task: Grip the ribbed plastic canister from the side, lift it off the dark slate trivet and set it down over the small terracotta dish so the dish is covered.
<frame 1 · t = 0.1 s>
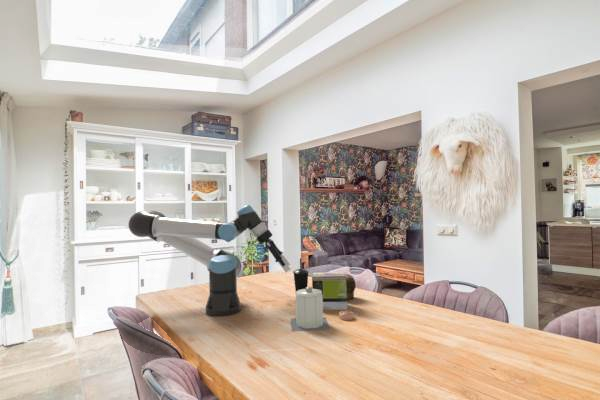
hand: (288, 268, 161), 15 cm above the table, tool tilted 35°, fingers open, 13 cm apart
ribbed plastic canister: (309, 323, 125), resting on trivet
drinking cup: (301, 300, 160), on the table
trivet: (309, 324, 125), on the table
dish: (346, 318, 131), on the table
shell: (344, 299, 161), on the table
tea box: (330, 307, 148), on the table
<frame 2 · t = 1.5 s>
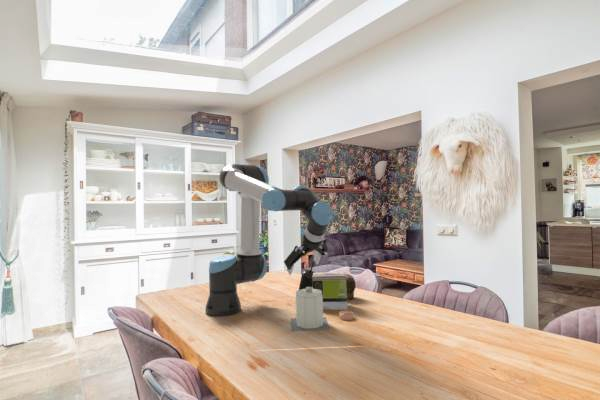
hand: (302, 266, 142), 19 cm above the table, tool tilted 45°, fingers open, 13 cm apart
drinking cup: (301, 298, 160), point 1 cm above the table
everything else where it was.
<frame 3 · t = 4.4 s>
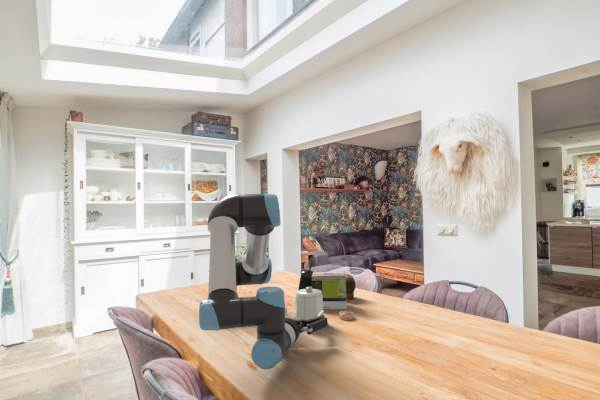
hand: (304, 312, 118), 7 cm above the table, tool horizontal, fingers open, 13 cm apart
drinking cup: (301, 298, 160), point 1 cm above the table, touching tea box
tea box: (329, 307, 148), on the table, touching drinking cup
everything else where it was.
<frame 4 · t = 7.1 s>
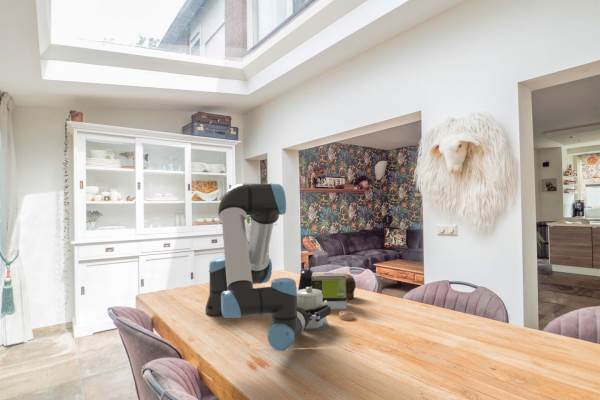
hand: (312, 303, 129), 7 cm above the table, tool horizontal, fingers closed on ribbed plastic canister, 10 cm apart
ribbed plastic canister: (309, 323, 125), resting on trivet, touching gripper
everything else where it was.
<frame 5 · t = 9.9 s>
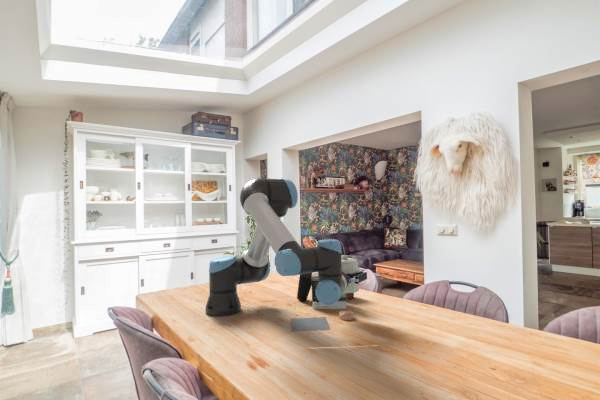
hand: (346, 271, 135), 18 cm above the table, tool horizontal, fingers closed on ribbed plastic canister, 10 cm apart
ribbed plastic canister: (345, 290, 131), point 11 cm above the table, touching gripper
everything else where it was.
when the fingers open (8 cm above the table, at t = 12.7 s): ribbed plastic canister drops 2 cm, on the table.
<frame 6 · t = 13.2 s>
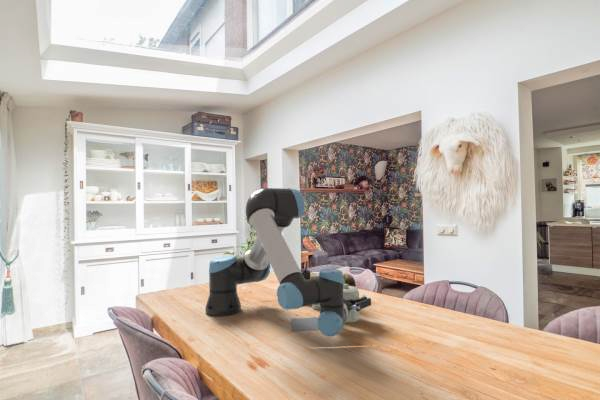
hand: (347, 295, 134), 9 cm above the table, tool horizontal, fingers open, 13 cm apart
ribbed plastic canister: (346, 319, 131), on the table
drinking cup: (301, 298, 160), point 1 cm above the table
tea box: (327, 306, 149), on the table
everything else where it was.
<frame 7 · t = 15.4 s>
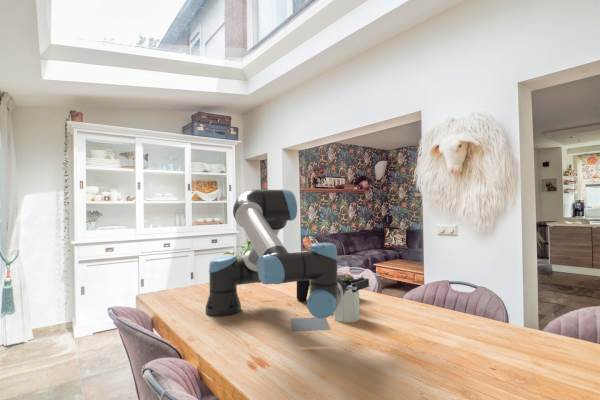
hand: (342, 276, 121), 19 cm above the table, tool horizontal, fingers open, 13 cm apart
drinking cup: (301, 298, 160), point 1 cm above the table, touching tea box
tea box: (327, 306, 149), on the table, touching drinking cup
everything else where it was.
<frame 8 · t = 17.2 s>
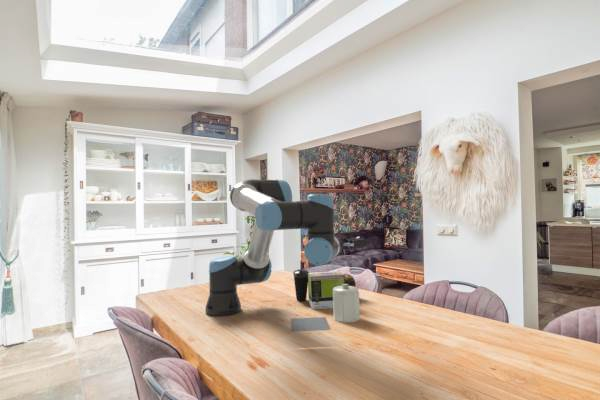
hand: (340, 240, 123), 32 cm above the table, tool horizontal, fingers open, 13 cm apart
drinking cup: (301, 298, 160), point 1 cm above the table
tea box: (326, 306, 149), on the table
everything else where it was.
at the end: ribbed plastic canister 0.1 cm from the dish (horizontally); ribbed plastic canister tilted 0°; ribbed plastic canister on the table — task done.
